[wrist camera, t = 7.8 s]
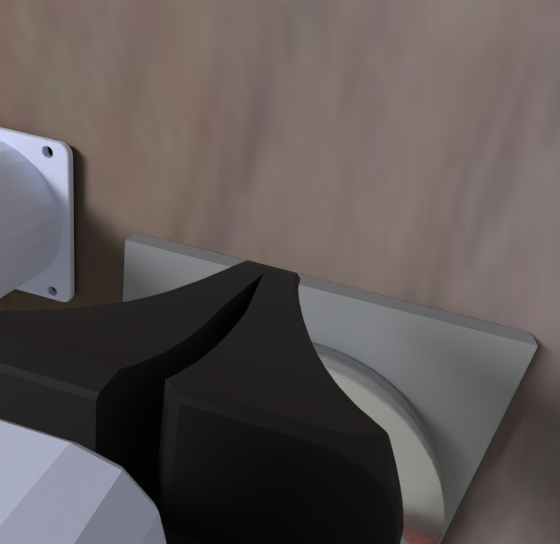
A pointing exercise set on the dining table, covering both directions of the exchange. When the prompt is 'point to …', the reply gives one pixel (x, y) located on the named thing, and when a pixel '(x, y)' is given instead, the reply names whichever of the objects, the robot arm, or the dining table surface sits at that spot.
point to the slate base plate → (384, 350)
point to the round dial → (397, 444)
